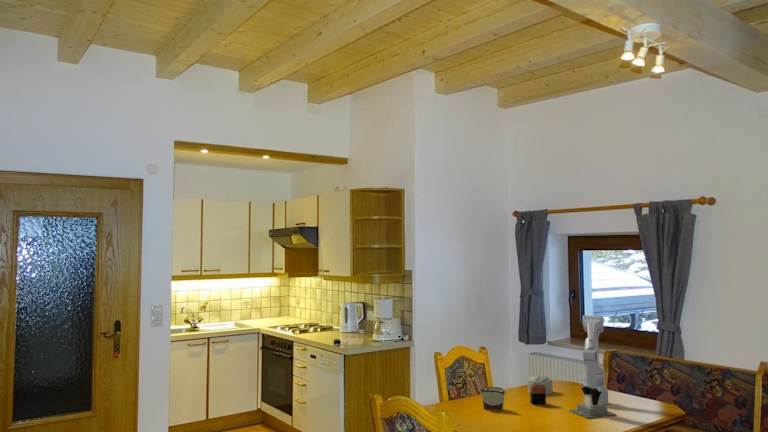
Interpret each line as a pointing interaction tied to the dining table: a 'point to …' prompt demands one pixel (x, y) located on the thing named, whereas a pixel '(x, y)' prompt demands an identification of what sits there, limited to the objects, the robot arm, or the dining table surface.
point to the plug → (590, 401)
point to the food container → (493, 398)
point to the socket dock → (592, 411)
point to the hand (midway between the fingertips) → (592, 403)
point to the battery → (538, 394)
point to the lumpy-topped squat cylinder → (543, 379)
